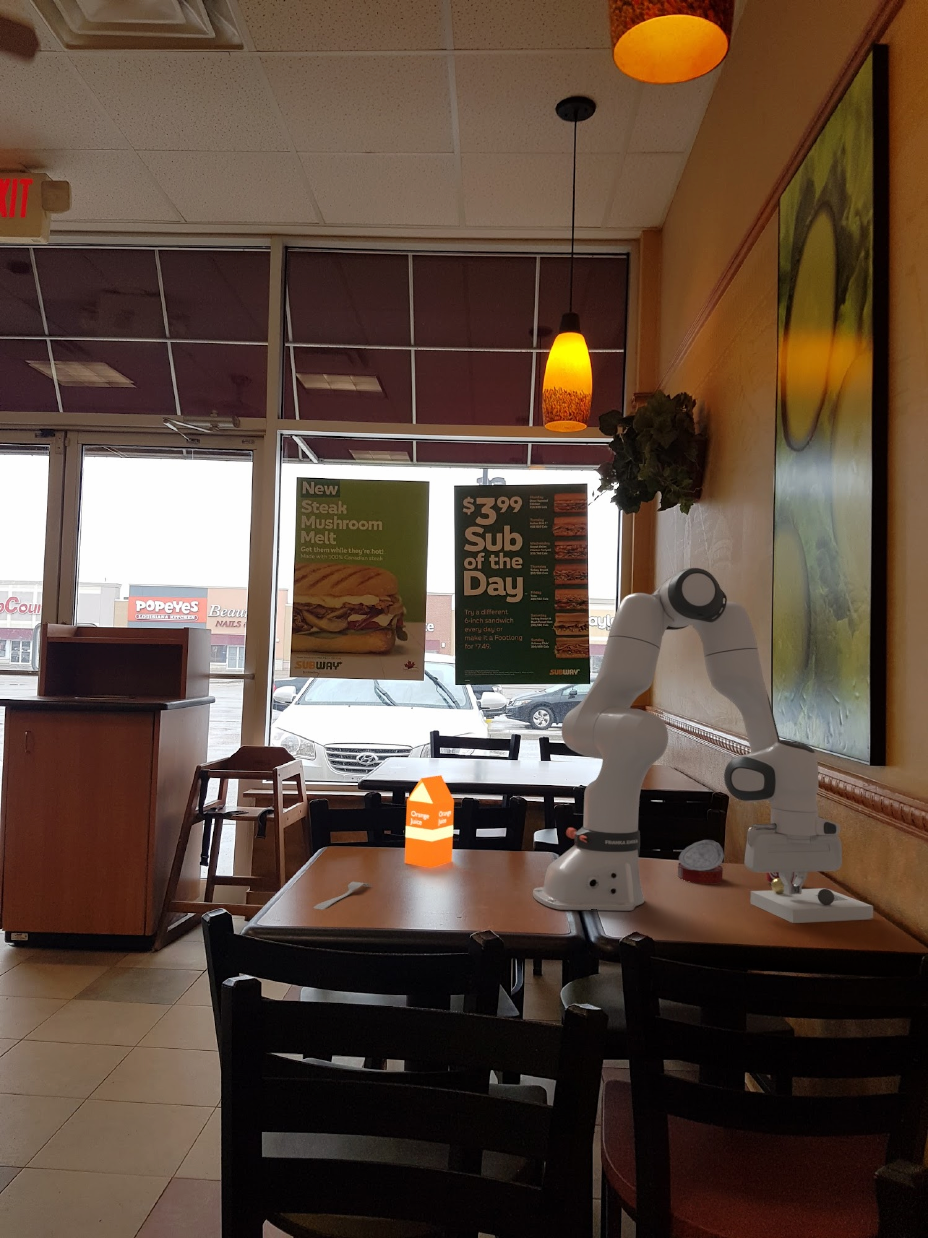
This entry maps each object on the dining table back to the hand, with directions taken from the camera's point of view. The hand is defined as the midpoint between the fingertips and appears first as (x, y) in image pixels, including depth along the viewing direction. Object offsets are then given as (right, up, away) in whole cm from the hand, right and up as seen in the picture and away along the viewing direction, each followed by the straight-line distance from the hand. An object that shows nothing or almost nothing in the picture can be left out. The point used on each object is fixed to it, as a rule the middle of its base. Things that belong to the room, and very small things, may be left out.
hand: (792, 894), depth 179 cm
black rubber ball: (+5, 0, -3) cm, 6 cm away
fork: (-89, -1, 0) cm, 89 cm away
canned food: (-11, -5, +26) cm, 29 cm away
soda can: (+6, -5, +23) cm, 24 cm away
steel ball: (+8, -2, +2) cm, 9 cm away
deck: (+4, -4, +1) cm, 5 cm away
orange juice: (-74, -3, +34) cm, 81 cm away
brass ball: (-1, 0, +5) cm, 5 cm away
